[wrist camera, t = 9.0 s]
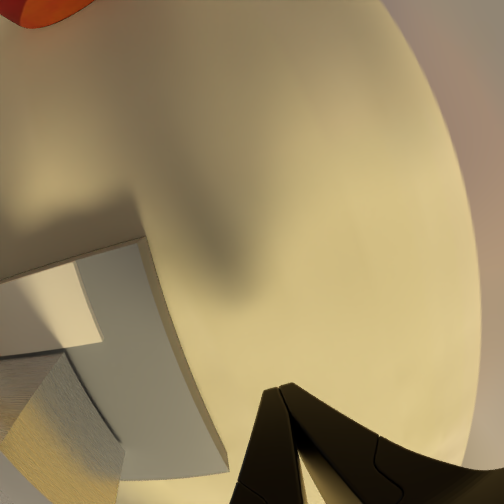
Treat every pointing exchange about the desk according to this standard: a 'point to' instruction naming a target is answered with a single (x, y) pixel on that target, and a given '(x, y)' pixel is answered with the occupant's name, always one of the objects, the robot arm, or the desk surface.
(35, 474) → the grey faceted block
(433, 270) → the desk surface
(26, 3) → the paper cup
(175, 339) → the gauge board
